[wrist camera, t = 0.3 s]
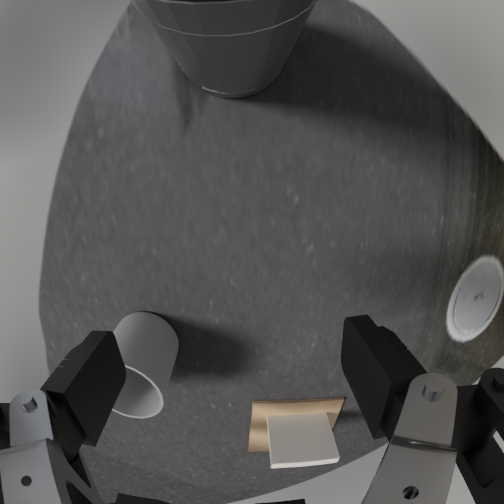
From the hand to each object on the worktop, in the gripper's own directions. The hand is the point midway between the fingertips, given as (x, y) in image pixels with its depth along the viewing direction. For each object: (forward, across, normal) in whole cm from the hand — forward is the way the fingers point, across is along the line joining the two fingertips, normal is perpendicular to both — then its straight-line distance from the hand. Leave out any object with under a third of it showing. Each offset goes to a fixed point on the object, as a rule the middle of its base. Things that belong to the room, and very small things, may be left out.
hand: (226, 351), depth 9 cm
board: (+20, -5, +28) cm, 35 cm away
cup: (+19, +12, +12) cm, 25 cm away
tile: (+19, -6, +25) cm, 32 cm away
